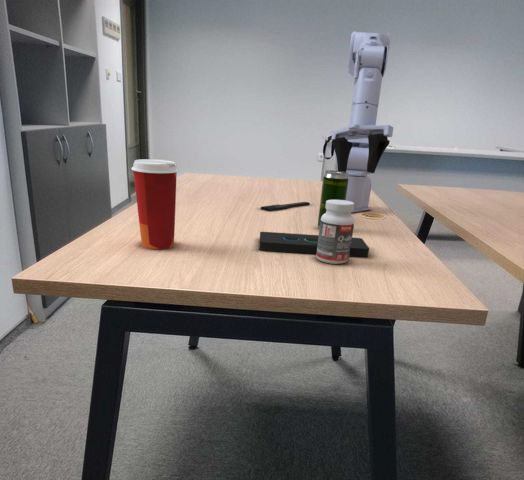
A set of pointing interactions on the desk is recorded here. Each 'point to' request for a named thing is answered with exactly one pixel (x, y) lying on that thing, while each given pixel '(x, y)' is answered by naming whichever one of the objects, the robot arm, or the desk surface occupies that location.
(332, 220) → the pill bottle
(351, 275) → the desk surface
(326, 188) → the beer can
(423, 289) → the desk surface
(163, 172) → the paper cup
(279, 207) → the fork
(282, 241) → the smart home device
